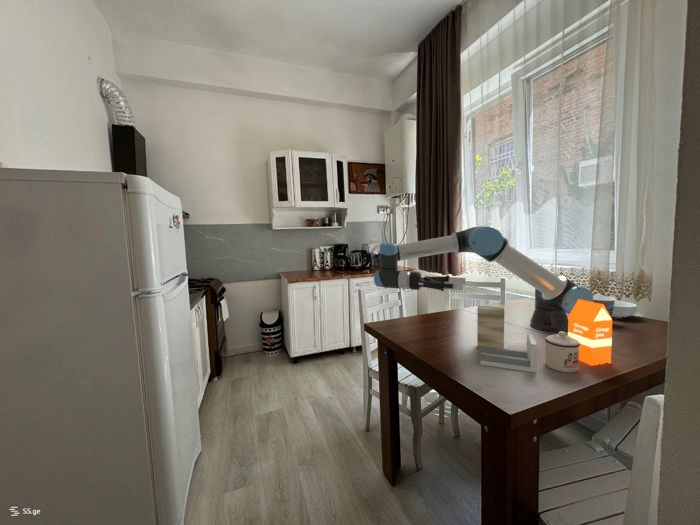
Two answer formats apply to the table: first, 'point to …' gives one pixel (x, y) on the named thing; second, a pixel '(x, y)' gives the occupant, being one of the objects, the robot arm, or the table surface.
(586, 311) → the orange juice
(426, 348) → the table surface
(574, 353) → the teacup with lid
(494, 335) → the tall wooden block
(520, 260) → the robot arm
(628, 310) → the cereal bowl
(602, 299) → the coffee cup
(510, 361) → the track
